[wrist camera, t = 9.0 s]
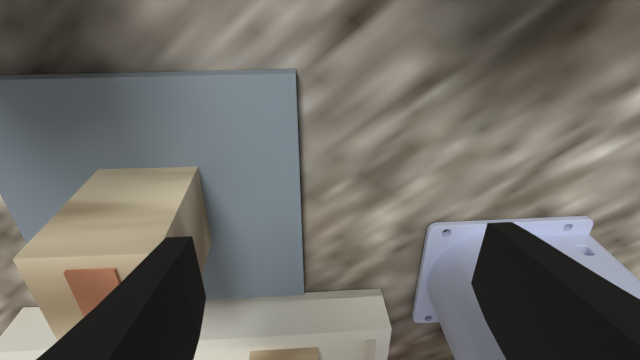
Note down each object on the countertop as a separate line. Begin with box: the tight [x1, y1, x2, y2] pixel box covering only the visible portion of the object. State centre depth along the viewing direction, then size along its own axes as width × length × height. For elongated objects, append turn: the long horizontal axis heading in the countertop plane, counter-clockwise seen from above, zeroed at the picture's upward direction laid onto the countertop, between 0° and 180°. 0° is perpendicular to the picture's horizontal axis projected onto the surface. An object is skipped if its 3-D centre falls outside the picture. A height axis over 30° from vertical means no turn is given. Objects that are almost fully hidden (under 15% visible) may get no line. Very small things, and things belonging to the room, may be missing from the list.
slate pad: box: [0, 69, 304, 300], centre depth 19 cm, size 14×13×1 cm
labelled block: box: [13, 167, 212, 341], centre depth 16 cm, size 4×4×6 cm
